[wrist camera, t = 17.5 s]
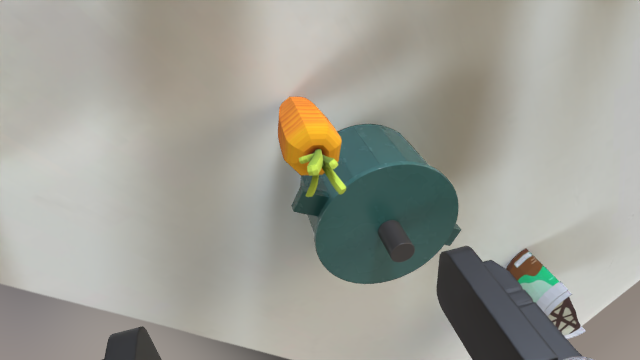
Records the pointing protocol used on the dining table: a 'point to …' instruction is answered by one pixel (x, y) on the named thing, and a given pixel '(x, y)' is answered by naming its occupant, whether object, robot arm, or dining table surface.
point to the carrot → (309, 142)
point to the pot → (358, 165)
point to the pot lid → (386, 222)
